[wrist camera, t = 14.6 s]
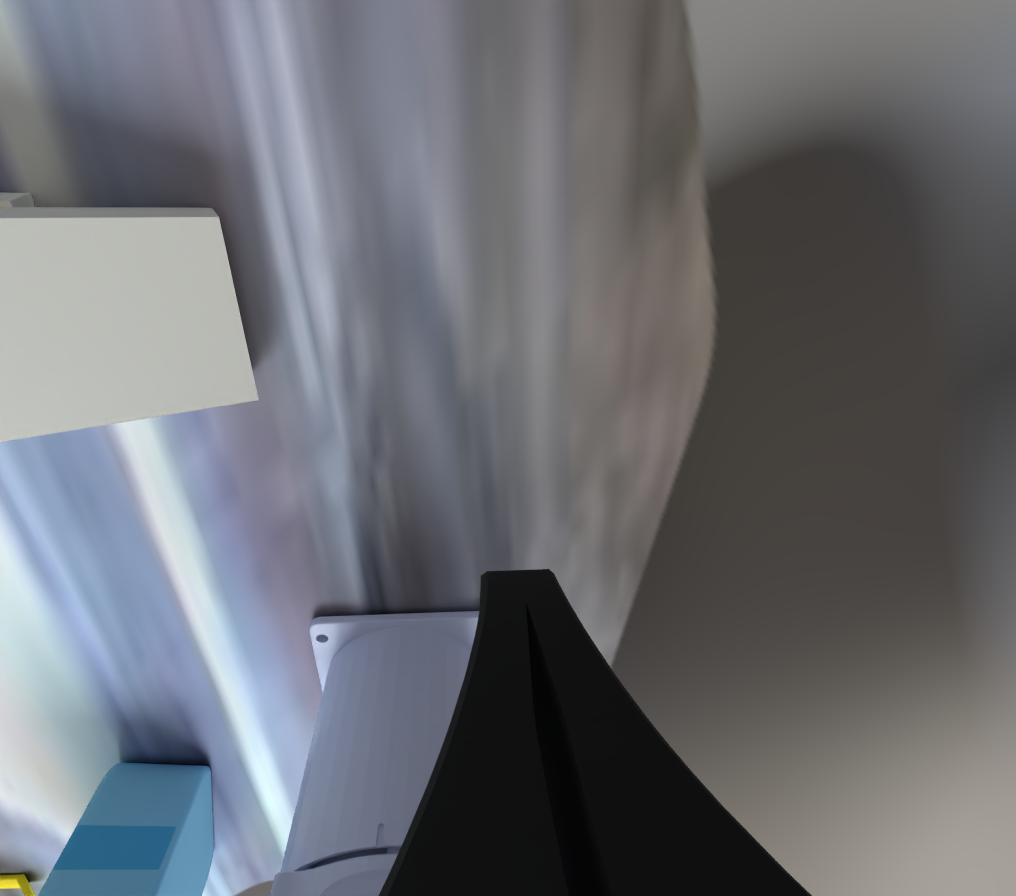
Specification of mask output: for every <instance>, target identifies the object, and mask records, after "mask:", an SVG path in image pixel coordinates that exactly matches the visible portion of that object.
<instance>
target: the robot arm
mask: <svg viewBox="0 0 1016 896" xmlns="http://www.w3.org/2000/svg"><path fill="white" fill-rule="evenodd" d="M309 633H310V637H311V642H312V646H313V651H314V656H315V660H316V665H317V670H318V674H319V679H320V684H321V688H322V693H323V694H322V698H321V703H320V707H319V711H318V715H317V720H316V724H315V728H314V732H313V737H312V741H311V745H310V749H309V754H308V758H307V762H306V766H305V770H304V775H303V779H302V783H301V787H300V792H299V796H298V800H297V804H296V809H295V813H294V817H293V821H292V825H291V830H290V834H289V838H288V842H287V847H286V851H285V855H284V859H283V864H282V868H281V872H279V873H277V874H276V875H275V878H274V882H273V887H272V891H271V895H270V896H812V895H811V894H810V893H809V892H807V891H806V890H805V889H804V888H803V887H802V886H801V885H800V884H799V883H798V882H797V881H796V880H795V879H794V878H793V877H792V876H790V874H789V873H787V871H786V870H785V869H784V868H783V867H782V866H781V865H780V864H779V863H778V862H777V861H775V859H774V858H773V857H772V856H771V855H770V854H769V853H768V852H767V851H766V850H765V849H764V848H763V847H762V846H761V845H760V844H759V843H758V842H757V841H756V840H755V839H754V838H753V837H752V836H751V835H750V834H749V833H748V832H747V830H746V829H745V828H744V827H743V826H742V825H741V824H740V823H739V822H738V821H737V820H736V819H735V818H734V817H733V816H732V815H731V814H730V813H729V812H728V811H727V810H726V809H725V808H724V807H723V806H722V805H721V804H720V803H719V802H718V800H717V799H716V798H715V797H714V796H713V795H712V794H711V793H710V791H709V790H708V789H707V788H706V787H705V786H704V785H703V784H702V783H701V781H700V780H699V779H698V778H697V777H696V776H695V775H694V774H693V772H691V770H690V769H689V768H688V767H687V766H686V764H685V763H684V762H683V761H682V760H681V759H680V757H679V756H678V755H677V754H676V753H675V751H674V750H673V749H672V748H671V747H670V746H669V744H668V743H667V742H666V741H665V740H664V738H663V737H662V736H661V735H660V733H659V732H658V731H657V730H656V728H655V727H654V726H653V724H652V723H651V722H650V721H649V719H648V718H647V717H646V716H645V714H644V713H643V712H642V710H641V709H640V708H639V706H638V705H637V704H636V702H635V701H634V700H633V698H632V697H631V696H630V694H629V693H628V692H627V690H626V689H625V688H624V686H623V685H622V683H621V682H620V681H619V679H618V678H617V677H616V675H615V674H614V672H613V671H612V669H611V668H610V666H609V665H608V663H607V662H606V660H605V659H604V657H603V656H602V654H601V653H600V651H599V650H598V648H597V647H596V645H595V644H594V642H593V641H592V639H591V638H590V636H589V635H588V633H587V631H586V630H585V628H584V627H583V625H582V623H581V622H580V620H579V618H578V617H577V615H576V613H575V612H574V610H573V608H572V607H571V605H570V603H569V601H568V600H567V598H566V596H565V594H564V592H563V591H562V589H561V587H560V585H559V583H558V581H557V579H556V577H555V575H554V573H553V572H552V571H550V570H549V569H542V570H513V571H487V572H486V573H484V574H483V575H482V576H481V591H480V609H479V611H465V612H437V613H410V614H382V615H354V616H327V617H317V618H315V619H313V620H312V621H311V624H310V627H309Z"/></svg>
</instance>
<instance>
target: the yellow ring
mask: <svg viewBox="0 0 1016 896" xmlns="http://www.w3.org/2000/svg"><path fill="white" fill-rule="evenodd" d="M4 888H21V889H22V891H23V893H24V895H25V896H36V895H35V893H34V891H33V890H32V888H31V886H30V884H29V882H28V880H27V878H26V876H25V875H24V874H15V875H0V889H4Z"/></svg>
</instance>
